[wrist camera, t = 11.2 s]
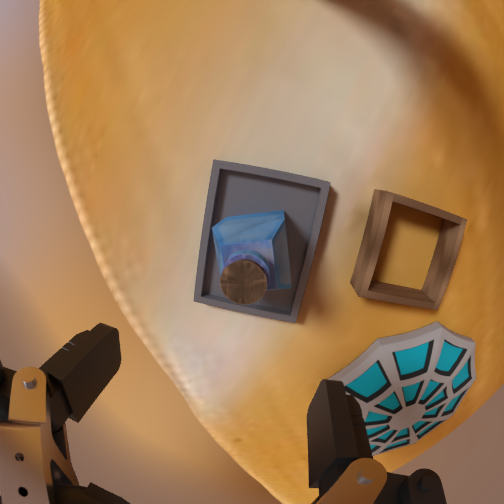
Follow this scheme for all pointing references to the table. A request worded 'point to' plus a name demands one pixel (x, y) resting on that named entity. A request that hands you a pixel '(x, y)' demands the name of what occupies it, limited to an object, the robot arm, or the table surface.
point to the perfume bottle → (252, 255)
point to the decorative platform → (410, 383)
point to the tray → (259, 201)
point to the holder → (439, 264)
